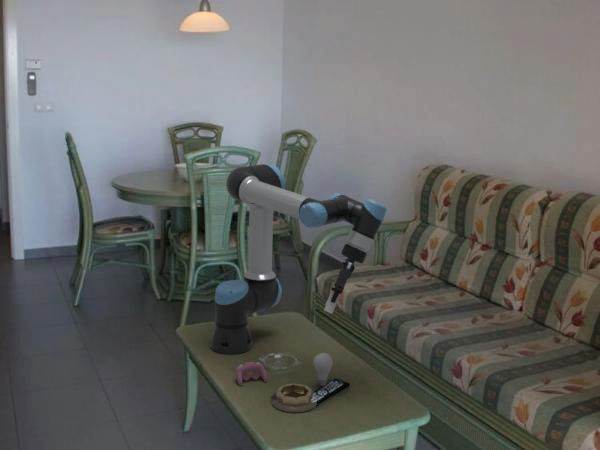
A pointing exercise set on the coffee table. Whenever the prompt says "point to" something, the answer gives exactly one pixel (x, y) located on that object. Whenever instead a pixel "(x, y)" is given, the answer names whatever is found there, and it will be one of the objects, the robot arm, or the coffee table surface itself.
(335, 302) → the robot arm
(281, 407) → the socket
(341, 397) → the coffee table surface
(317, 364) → the lightbulb
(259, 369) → the video game controller
